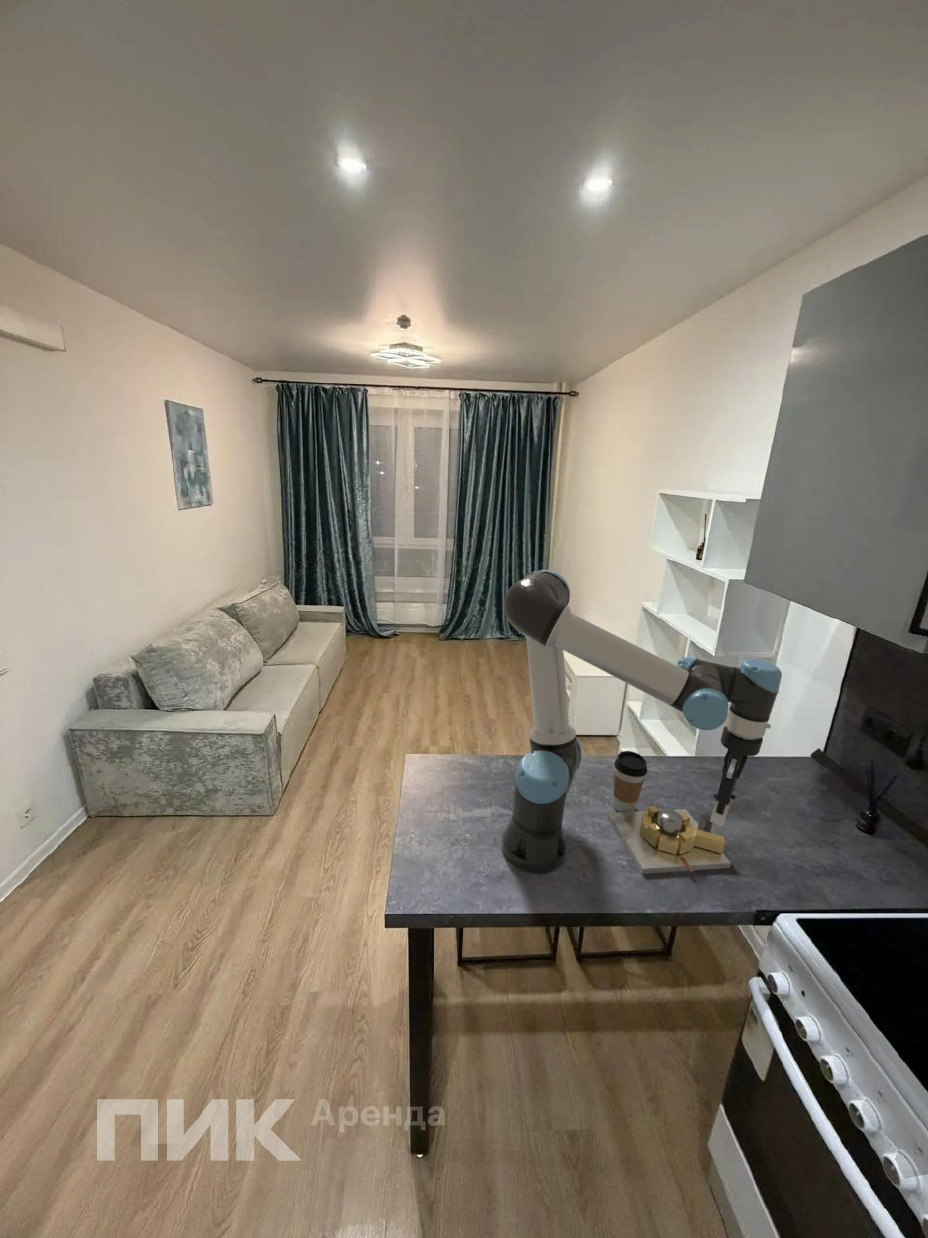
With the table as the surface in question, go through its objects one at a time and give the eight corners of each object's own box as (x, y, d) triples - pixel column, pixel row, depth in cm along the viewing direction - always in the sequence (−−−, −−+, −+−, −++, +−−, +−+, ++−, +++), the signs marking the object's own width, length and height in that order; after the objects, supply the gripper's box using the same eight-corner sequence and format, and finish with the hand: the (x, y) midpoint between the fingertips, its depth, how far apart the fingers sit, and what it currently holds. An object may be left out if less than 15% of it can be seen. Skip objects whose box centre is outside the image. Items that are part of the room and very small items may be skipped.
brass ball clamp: (640, 844, 120) (643, 830, 119) (641, 814, 131) (644, 800, 130) (724, 868, 115) (728, 853, 113) (718, 834, 125) (722, 820, 124)
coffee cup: (635, 798, 140) (644, 752, 136) (643, 819, 132) (652, 770, 128) (605, 795, 141) (613, 748, 136) (610, 815, 133) (619, 766, 128)
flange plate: (645, 880, 112) (651, 852, 110) (607, 817, 132) (611, 793, 129) (735, 873, 116) (743, 847, 113) (685, 813, 135) (691, 790, 133)
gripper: (759, 750, 99) (729, 846, 106) (767, 726, 109) (739, 815, 116) (718, 736, 103) (692, 829, 110) (730, 714, 113) (705, 801, 120)
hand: (716, 822), depth 113 cm, fingers closed
